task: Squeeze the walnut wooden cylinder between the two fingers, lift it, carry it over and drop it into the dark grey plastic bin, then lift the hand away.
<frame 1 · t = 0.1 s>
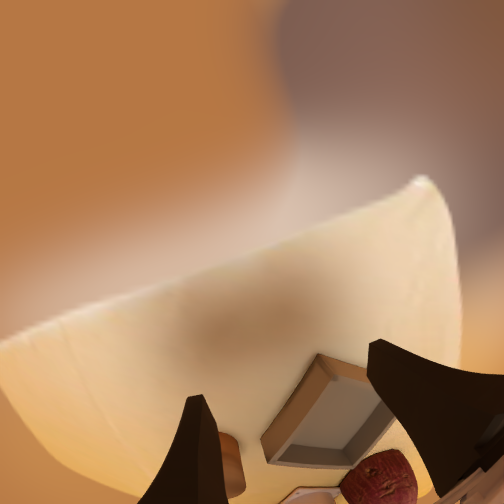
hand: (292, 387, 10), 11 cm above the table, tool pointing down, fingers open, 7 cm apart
grey bin: (332, 411, 24), on the table
vegetable: (371, 471, 27), on the table, touching arm
walnut cylinder: (214, 446, 22), on the table
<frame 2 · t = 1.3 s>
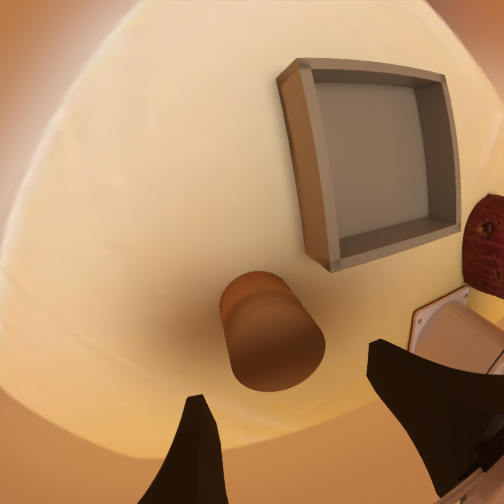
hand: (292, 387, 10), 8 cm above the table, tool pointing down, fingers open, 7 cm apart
grey bin: (369, 155, 16), on the table
vegetable: (485, 240, 21), on the table
walnut cylinder: (256, 305, 18), on the table
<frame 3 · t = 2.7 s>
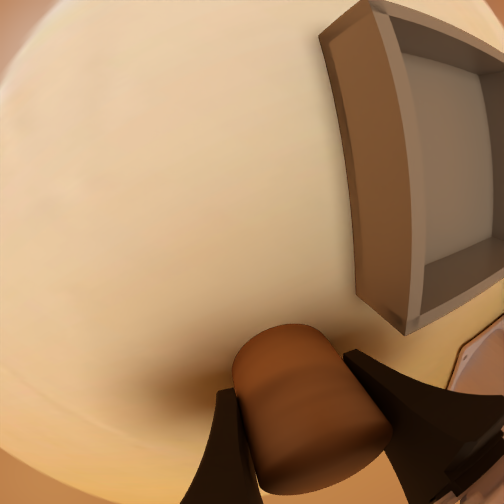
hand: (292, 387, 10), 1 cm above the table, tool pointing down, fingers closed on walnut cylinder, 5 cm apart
grey bin: (437, 157, 10), on the table
walnut cylinder: (283, 366, 12), on the table, touching gripper
when the fingers open (4 cm above the table, at t = 6.8 s): walnut cylinder drops 2 cm, resting on grey bin.
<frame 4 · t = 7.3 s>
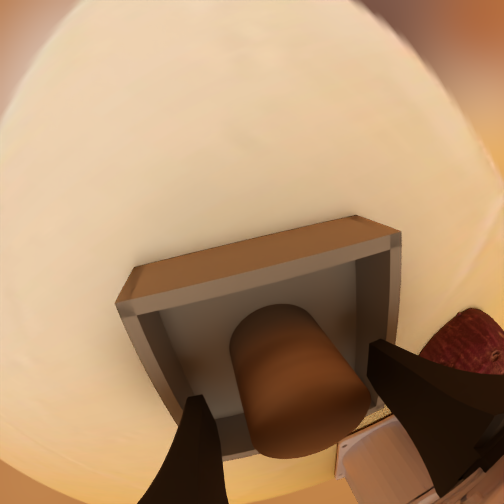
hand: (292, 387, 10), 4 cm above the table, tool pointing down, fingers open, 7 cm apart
grey bin: (269, 337, 14), on the table
vegetable: (447, 355, 19), on the table
walnut cylinder: (275, 344, 14), point 1 cm above the table, touching grey bin
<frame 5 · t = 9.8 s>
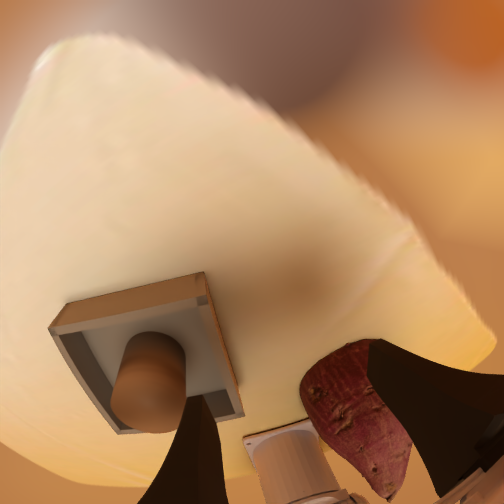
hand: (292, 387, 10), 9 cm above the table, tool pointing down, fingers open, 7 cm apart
grey bin: (154, 352, 19), on the table
vegetable: (347, 378, 24), on the table
walnut cylinder: (155, 357, 19), point 1 cm above the table, touching grey bin
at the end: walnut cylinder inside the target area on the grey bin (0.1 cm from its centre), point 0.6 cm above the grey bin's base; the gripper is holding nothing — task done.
